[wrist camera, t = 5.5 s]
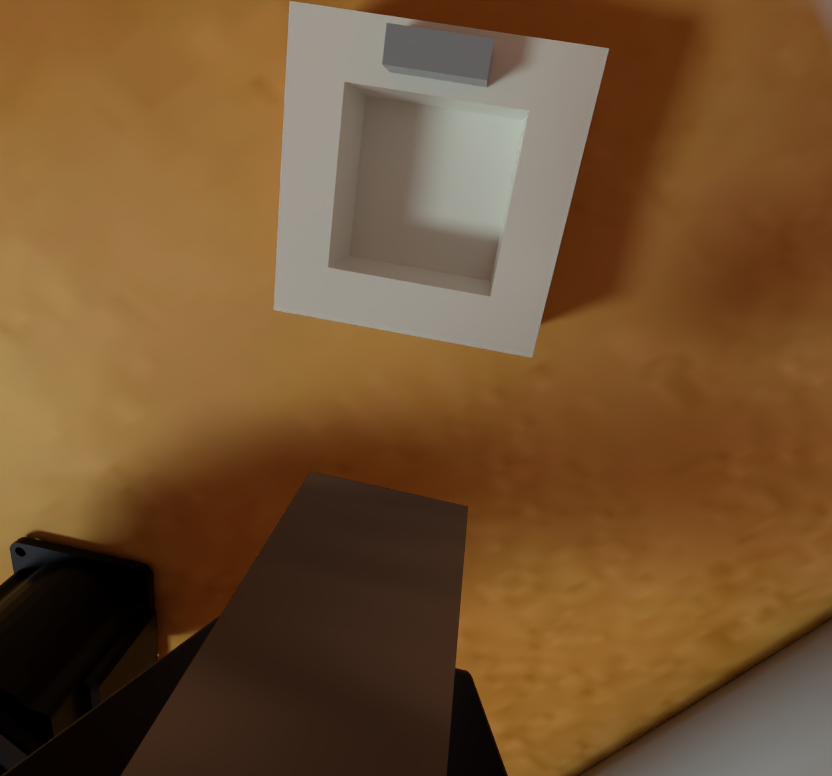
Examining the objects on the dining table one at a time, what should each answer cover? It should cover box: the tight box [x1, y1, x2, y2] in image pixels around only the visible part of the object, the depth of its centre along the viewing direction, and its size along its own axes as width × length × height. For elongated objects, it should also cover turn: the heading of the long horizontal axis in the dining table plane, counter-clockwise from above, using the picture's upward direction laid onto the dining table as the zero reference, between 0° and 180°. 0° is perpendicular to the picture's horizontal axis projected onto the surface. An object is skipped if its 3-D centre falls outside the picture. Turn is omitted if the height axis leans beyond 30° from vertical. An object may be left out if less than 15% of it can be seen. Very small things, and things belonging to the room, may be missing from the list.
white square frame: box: [274, 1, 609, 358], centre depth 15 cm, size 8×8×4 cm
